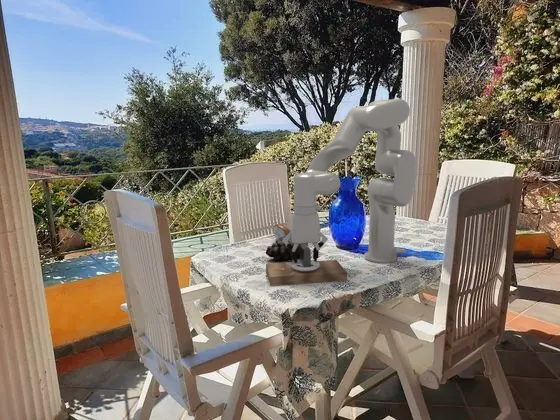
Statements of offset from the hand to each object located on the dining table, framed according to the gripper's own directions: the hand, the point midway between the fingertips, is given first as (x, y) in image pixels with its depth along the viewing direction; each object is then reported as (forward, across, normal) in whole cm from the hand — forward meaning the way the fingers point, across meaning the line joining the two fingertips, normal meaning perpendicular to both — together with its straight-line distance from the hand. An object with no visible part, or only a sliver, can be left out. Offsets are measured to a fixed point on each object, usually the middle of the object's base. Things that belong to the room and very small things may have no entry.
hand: (305, 260), depth 140 cm
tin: (+6, +2, -40) cm, 40 cm away
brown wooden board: (+6, 0, 0) cm, 6 cm away
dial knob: (+2, 0, -1) cm, 3 cm away
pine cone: (+6, +3, -20) cm, 21 cm away
